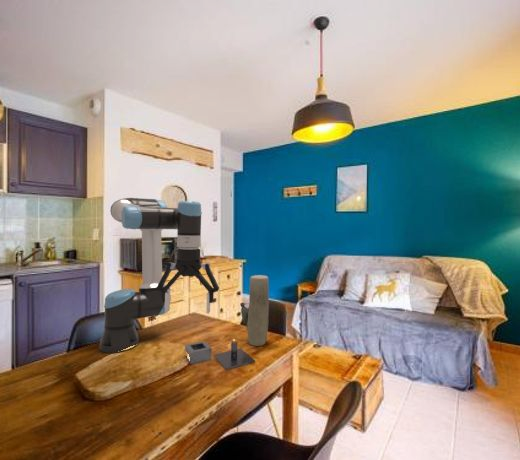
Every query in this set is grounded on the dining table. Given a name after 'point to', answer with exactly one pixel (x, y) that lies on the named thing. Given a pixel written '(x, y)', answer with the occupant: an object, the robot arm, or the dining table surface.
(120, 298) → the robot arm
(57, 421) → the dining table surface
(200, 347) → the grey square hollow block
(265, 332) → the decorative sculpture
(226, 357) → the post
